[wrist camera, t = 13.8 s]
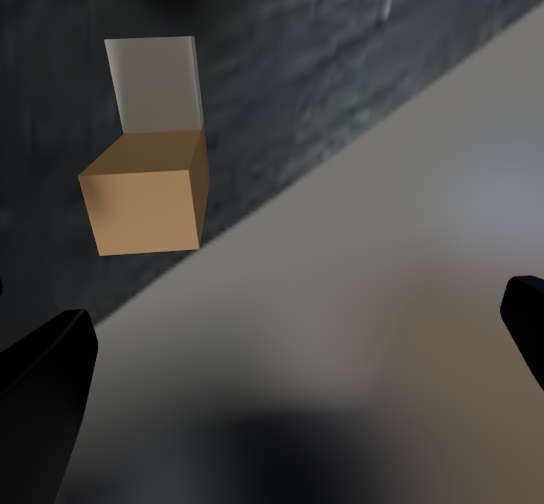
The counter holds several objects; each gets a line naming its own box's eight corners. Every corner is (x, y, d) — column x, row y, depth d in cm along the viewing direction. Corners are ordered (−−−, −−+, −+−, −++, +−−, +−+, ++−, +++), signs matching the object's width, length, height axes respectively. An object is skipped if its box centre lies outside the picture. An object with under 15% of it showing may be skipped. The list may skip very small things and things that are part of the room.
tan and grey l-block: (143, 182, 15) (99, 255, 10) (115, 39, 12) (41, 42, 8) (209, 179, 15) (199, 249, 10) (194, 36, 12) (170, 37, 8)
